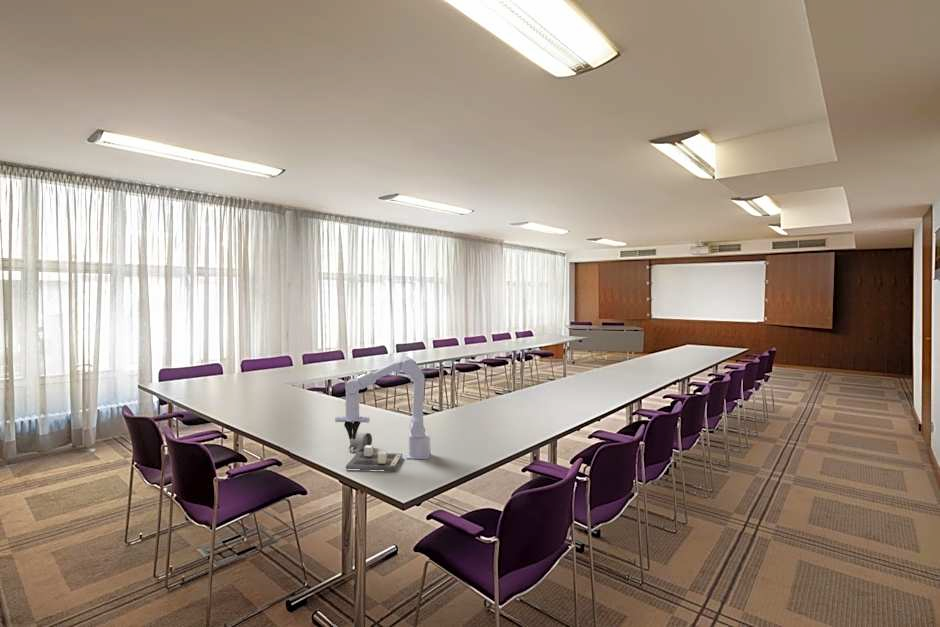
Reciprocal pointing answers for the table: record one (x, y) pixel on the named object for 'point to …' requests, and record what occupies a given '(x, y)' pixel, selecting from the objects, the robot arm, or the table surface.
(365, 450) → the switch tab
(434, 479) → the table surface
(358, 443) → the ceramic mug
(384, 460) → the switch tab
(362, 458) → the switch panel
